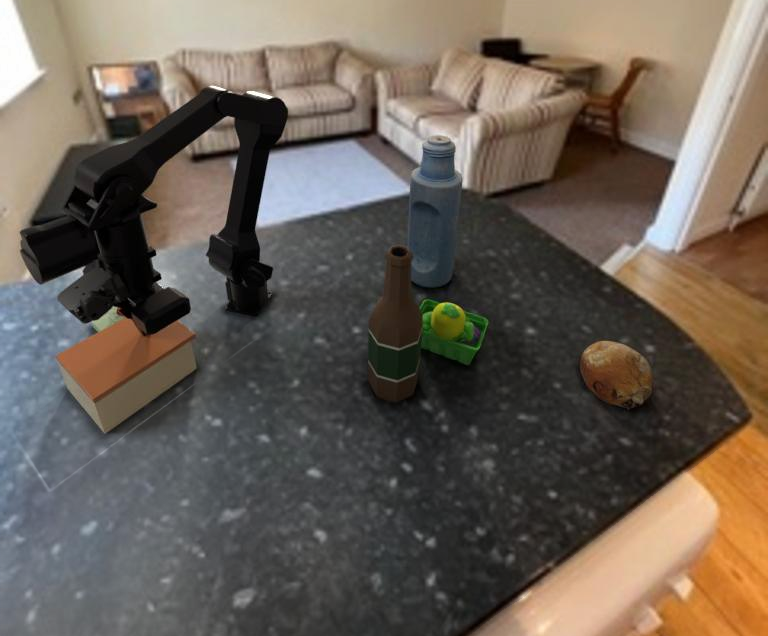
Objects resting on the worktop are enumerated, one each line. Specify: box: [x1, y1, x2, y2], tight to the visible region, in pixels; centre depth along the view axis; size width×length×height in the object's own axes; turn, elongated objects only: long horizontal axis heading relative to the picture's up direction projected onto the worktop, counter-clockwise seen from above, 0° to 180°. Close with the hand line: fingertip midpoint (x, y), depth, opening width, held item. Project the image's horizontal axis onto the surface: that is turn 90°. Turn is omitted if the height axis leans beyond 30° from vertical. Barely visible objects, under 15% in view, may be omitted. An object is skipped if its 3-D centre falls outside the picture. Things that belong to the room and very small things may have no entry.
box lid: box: [54, 317, 196, 403], centre depth 65 cm, size 14×12×1 cm
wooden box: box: [56, 340, 198, 435], centre depth 66 cm, size 14×12×6 cm
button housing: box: [91, 306, 125, 333], centre depth 78 cm, size 10×8×3 cm
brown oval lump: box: [579, 340, 654, 410], centre depth 69 cm, size 10×10×8 cm
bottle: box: [406, 134, 464, 289], centre depth 86 cm, size 10×10×30 cm
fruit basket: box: [419, 299, 489, 366], centre depth 72 cm, size 11×9×11 cm
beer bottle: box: [367, 244, 423, 403], centre depth 63 cm, size 8×8×24 cm
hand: (145, 333), depth 67 cm, fingers closed, pressing on box lid
